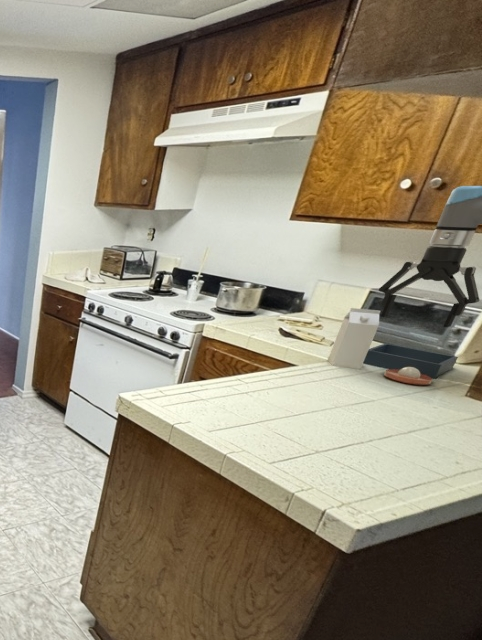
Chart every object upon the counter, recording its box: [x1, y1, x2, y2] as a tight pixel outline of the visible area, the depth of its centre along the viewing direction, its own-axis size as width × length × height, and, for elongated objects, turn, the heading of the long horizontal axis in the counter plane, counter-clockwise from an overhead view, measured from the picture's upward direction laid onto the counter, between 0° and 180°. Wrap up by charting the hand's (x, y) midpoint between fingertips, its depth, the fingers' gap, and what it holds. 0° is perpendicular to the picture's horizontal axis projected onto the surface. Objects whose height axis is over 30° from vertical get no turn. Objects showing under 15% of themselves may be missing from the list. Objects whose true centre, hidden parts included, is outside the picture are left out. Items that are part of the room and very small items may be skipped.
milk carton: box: [327, 307, 381, 370], centre depth 153 cm, size 7×7×19 cm
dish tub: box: [362, 342, 459, 380], centre depth 155 cm, size 18×18×5 cm
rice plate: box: [383, 367, 433, 386], centre depth 142 cm, size 10×10×5 cm
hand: (414, 321), depth 138 cm, fingers open, 13 cm apart
